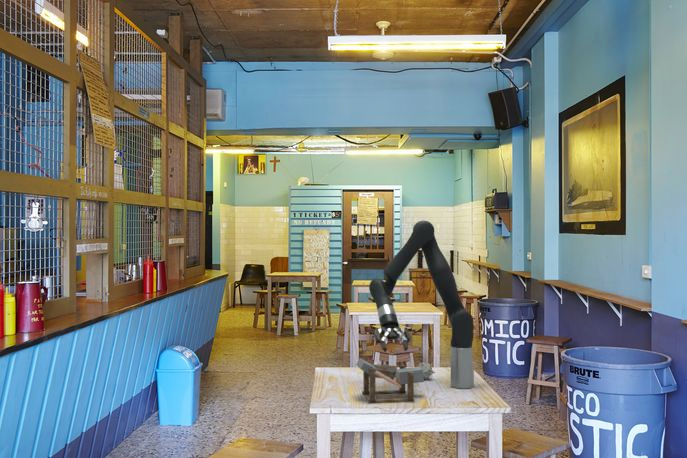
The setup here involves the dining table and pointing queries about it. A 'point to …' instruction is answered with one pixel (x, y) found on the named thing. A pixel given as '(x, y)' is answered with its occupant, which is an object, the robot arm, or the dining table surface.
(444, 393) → the dining table surface
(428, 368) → the game die
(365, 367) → the trapdoor
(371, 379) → the frame
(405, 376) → the slate block
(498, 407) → the dining table surface
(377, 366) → the marble piece
